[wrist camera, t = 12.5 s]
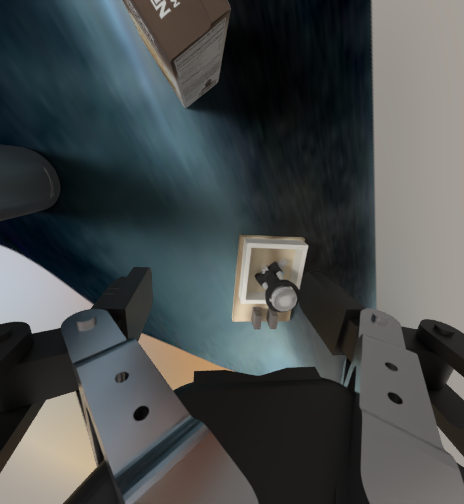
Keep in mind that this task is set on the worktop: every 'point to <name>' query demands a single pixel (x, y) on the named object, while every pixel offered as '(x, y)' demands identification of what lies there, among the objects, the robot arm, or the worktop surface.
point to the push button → (278, 288)
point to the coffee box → (184, 41)
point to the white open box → (274, 244)
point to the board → (257, 262)
